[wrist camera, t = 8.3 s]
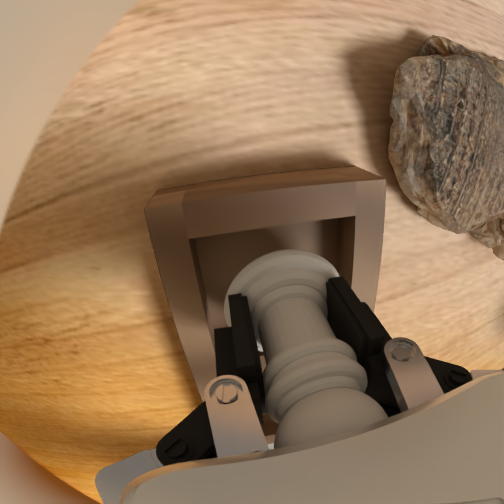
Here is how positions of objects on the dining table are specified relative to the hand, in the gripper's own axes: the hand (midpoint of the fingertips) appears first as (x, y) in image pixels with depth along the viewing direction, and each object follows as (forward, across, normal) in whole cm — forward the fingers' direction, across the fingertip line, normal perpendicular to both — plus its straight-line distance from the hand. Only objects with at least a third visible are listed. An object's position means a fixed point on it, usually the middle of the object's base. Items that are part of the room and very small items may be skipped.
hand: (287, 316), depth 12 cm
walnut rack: (+4, 0, +4) cm, 6 cm away
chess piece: (+1, 0, 0) cm, 1 cm away
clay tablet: (+5, -16, -6) cm, 18 cm away
